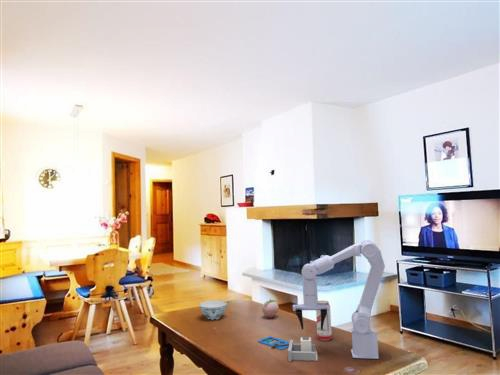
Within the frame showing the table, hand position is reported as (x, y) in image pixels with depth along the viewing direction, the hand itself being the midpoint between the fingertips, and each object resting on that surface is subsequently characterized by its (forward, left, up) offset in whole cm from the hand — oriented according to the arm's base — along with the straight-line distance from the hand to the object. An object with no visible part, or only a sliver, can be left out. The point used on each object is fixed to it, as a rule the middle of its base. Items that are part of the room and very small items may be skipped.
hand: (312, 328), depth 145 cm
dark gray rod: (+12, -5, -9) cm, 16 cm away
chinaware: (+54, -45, -10) cm, 71 cm away
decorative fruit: (+23, -47, -10) cm, 53 cm away
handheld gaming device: (+16, -9, -10) cm, 21 cm away
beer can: (-5, -16, -10) cm, 19 cm away
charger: (+3, +3, -9) cm, 10 cm away
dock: (+3, +4, -9) cm, 11 cm away
